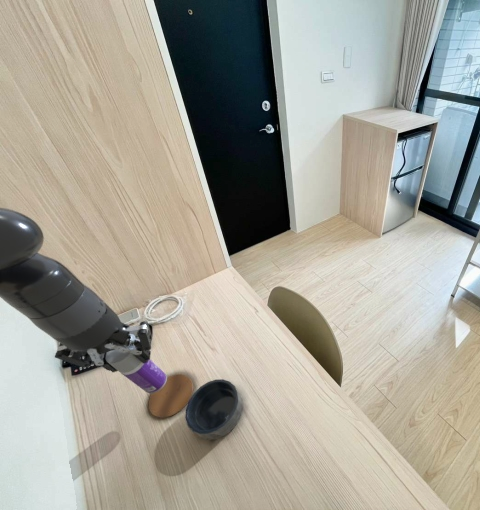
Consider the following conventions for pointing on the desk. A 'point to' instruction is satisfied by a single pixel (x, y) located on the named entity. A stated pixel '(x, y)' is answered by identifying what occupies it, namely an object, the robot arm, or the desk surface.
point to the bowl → (214, 409)
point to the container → (138, 370)
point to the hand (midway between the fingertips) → (132, 362)
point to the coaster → (171, 396)
